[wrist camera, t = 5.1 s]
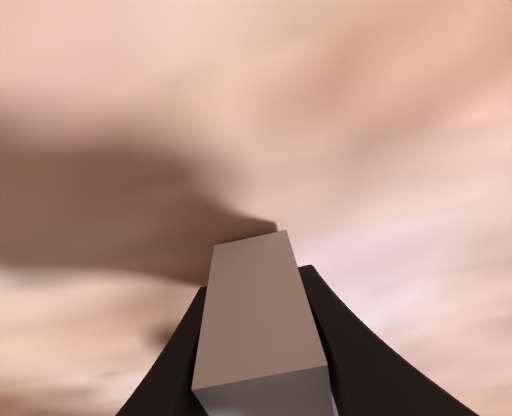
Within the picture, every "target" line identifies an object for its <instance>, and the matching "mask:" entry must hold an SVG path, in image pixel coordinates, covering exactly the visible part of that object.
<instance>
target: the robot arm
mask: <svg viewBox="0 0 512 416" xmlns="http://www.w3.org/2000/svg"><path fill="white" fill-rule="evenodd" d="M298 270H299V274H300V277H301V280H302V283H303V286H304V290H305V293H306V296H307V299H308V303H309V306H310V309H311V312H312V315H313V319H314V322H315V325H316V328H317V332H318V335H319V338H320V341H321V345H322V348H323V351H324V354H325V357H326V361H327V364H328V371H329V379H330V387H331V393H332V396H333V399H334V402H335V405H336V408H337V412H338V415H339V416H479V415H478V414H476V413H475V412H473V411H472V410H471V409H469V408H468V407H466V406H465V405H463V404H462V403H461V402H459V401H458V400H457V399H455V398H454V397H453V396H451V395H450V394H449V393H447V392H446V391H445V390H443V389H442V388H441V387H439V386H438V385H437V384H435V383H434V382H433V381H431V380H430V379H429V378H427V377H426V376H425V375H423V374H422V373H421V372H420V371H418V370H417V369H416V368H415V367H413V366H412V365H411V364H410V363H408V362H407V361H406V360H405V359H403V358H402V357H401V356H400V355H399V354H397V353H396V352H395V351H394V350H393V349H392V348H390V347H389V346H388V345H387V344H386V343H385V342H383V341H382V340H381V339H380V338H379V337H378V336H377V335H376V334H375V333H373V332H372V331H371V330H370V329H369V328H368V327H367V326H366V325H365V324H364V323H363V322H362V321H361V320H360V319H359V318H358V317H357V316H356V315H355V314H354V313H353V312H352V311H351V310H350V309H349V308H348V307H347V306H346V305H345V304H344V303H343V302H342V301H341V300H340V299H339V297H338V296H337V295H336V294H335V293H334V292H333V291H332V290H331V288H330V287H329V286H328V285H327V284H326V282H325V281H324V280H323V279H322V277H321V276H320V275H319V273H318V272H317V271H316V269H315V268H314V266H312V265H307V266H302V267H298ZM206 292H207V286H204V287H200V289H199V290H198V292H197V294H196V296H195V297H194V299H193V301H192V303H191V305H190V306H189V308H188V310H187V312H186V313H185V315H184V317H183V318H182V320H181V322H180V323H179V325H178V327H177V328H176V330H175V332H174V333H173V335H172V337H171V338H170V340H169V342H168V343H167V345H166V346H165V348H164V349H163V351H162V352H161V354H160V355H159V357H158V358H157V360H156V361H155V363H154V364H153V366H152V367H151V369H150V370H149V372H148V373H147V375H146V376H145V377H144V379H143V380H142V382H141V383H140V384H139V386H138V387H137V388H136V390H135V391H134V392H133V394H132V395H131V396H130V398H129V399H128V400H127V402H126V403H125V404H124V406H123V407H122V408H121V409H120V411H119V412H118V413H117V414H116V416H209V415H208V414H207V412H206V411H205V409H204V408H203V406H202V405H201V403H200V402H199V400H198V399H197V398H196V396H195V395H194V393H193V392H192V390H191V389H192V382H193V376H194V369H195V363H196V356H197V350H198V344H199V337H200V331H201V324H202V318H203V312H204V305H205V299H206Z"/></svg>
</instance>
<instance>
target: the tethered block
mask: <svg viewBox="0 0 512 416" xmlns="http://www.w3.org/2000/svg"><path fill="white" fill-rule="evenodd" d="M191 390H192V392H193V393H194V395H195V396H196V398H197V399H198V400H199V402H200V403H201V405H202V406H203V408H204V409H205V411H206V412H207V414H208V415H209V416H339V415H338V412H337V408H336V405H335V402H334V399H333V396H332V393H331V387H330V379H329V371H328V364H327V361H326V357H325V354H324V351H323V348H322V345H321V341H320V338H319V335H318V332H317V328H316V325H315V322H314V319H313V315H312V312H311V309H310V306H309V303H308V299H307V296H306V293H305V290H304V286H303V283H302V280H301V277H300V274H299V270H298V267H297V264H296V261H295V257H294V254H293V251H292V248H291V244H290V241H289V238H288V235H287V232H286V230H284V231H279V232H274V233H270V234H265V235H260V236H256V237H251V238H246V239H242V240H237V241H232V242H227V243H223V244H218V245H214V247H213V254H212V260H211V267H210V273H209V280H208V286H207V292H206V299H205V305H204V312H203V318H202V324H201V331H200V337H199V344H198V350H197V356H196V363H195V369H194V376H193V382H192V389H191Z"/></svg>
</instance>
